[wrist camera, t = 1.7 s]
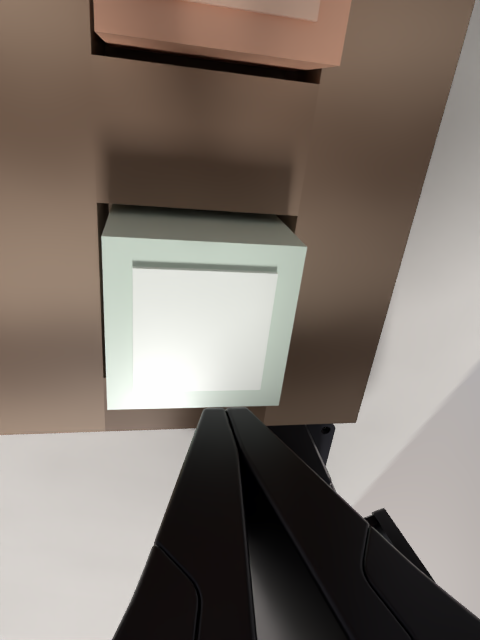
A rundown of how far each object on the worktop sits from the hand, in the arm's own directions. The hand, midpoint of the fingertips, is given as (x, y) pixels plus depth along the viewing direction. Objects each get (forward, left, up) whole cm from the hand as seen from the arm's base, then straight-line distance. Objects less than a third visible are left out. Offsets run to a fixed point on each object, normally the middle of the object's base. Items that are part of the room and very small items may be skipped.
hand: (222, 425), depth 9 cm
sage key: (0, 0, -7) cm, 7 cm away
